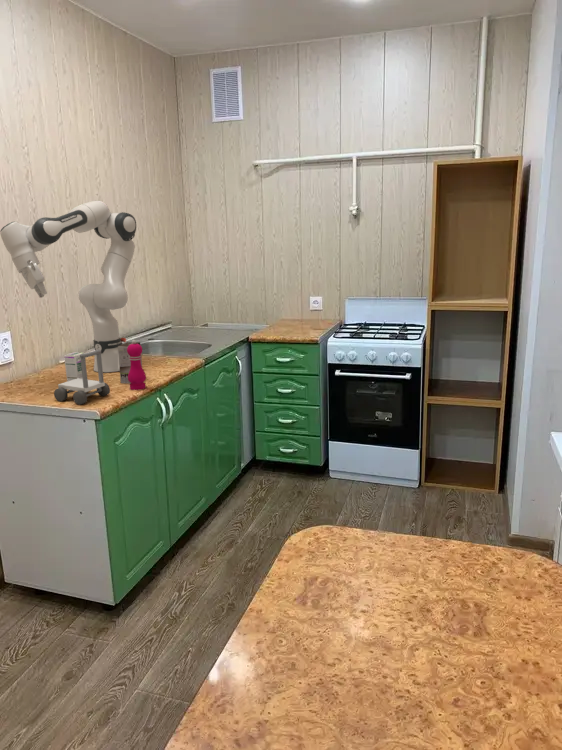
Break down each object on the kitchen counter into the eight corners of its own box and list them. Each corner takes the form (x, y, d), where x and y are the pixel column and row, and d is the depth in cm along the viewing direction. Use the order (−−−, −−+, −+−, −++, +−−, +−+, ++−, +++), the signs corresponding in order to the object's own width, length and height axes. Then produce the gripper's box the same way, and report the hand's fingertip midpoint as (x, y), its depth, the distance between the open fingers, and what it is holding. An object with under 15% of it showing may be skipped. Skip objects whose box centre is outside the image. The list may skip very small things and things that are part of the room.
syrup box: (79, 390, 236) (75, 355, 232) (67, 389, 238) (63, 354, 234) (88, 386, 241) (84, 352, 237) (76, 385, 243) (73, 351, 239)
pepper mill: (131, 385, 241) (127, 338, 236) (148, 385, 241) (145, 338, 236) (126, 390, 234) (122, 341, 229) (144, 390, 234) (140, 341, 229)
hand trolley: (82, 391, 234) (77, 345, 230) (110, 395, 228) (106, 348, 223) (54, 400, 222) (49, 352, 218) (83, 405, 216) (78, 356, 211)
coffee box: (134, 383, 244) (131, 346, 240) (120, 383, 245) (116, 345, 241) (143, 378, 253) (140, 341, 249) (130, 377, 254) (126, 341, 250)
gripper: (37, 255, 222) (54, 289, 225) (32, 264, 240) (48, 295, 243) (21, 261, 219) (38, 295, 222) (17, 270, 237) (33, 301, 240)
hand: (43, 295), depth 233 cm, fingers open, 8 cm apart
